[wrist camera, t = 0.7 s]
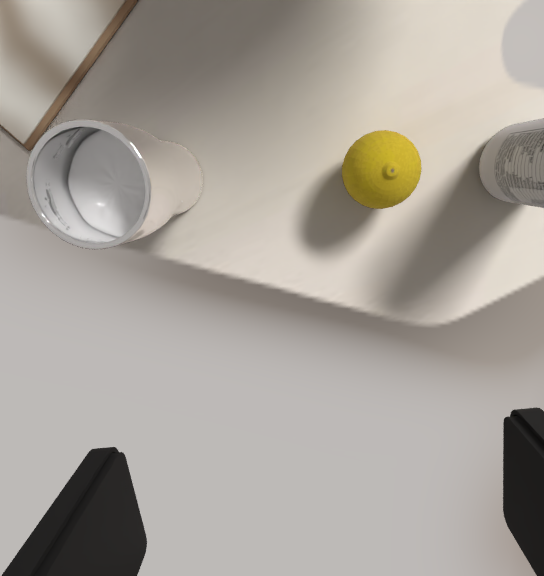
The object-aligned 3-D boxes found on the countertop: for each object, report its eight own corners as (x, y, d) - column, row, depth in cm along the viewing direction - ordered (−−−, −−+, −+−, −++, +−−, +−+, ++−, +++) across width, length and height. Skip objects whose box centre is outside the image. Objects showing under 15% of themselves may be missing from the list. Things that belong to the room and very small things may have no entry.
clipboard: (17, -140, 32) (7, -152, 30) (147, -13, 33) (142, -20, 32) (-92, 44, 35) (-105, 40, 34) (30, 150, 37) (22, 149, 36)
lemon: (400, 205, 37) (429, 215, 29) (334, 202, 37) (345, 211, 29) (409, 136, 35) (441, 127, 28) (340, 132, 36) (353, 123, 28)
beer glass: (113, 195, 38) (3, 213, 23) (147, 119, 36) (50, 87, 21) (186, 235, 38) (122, 276, 24) (222, 162, 37) (177, 159, 22)
